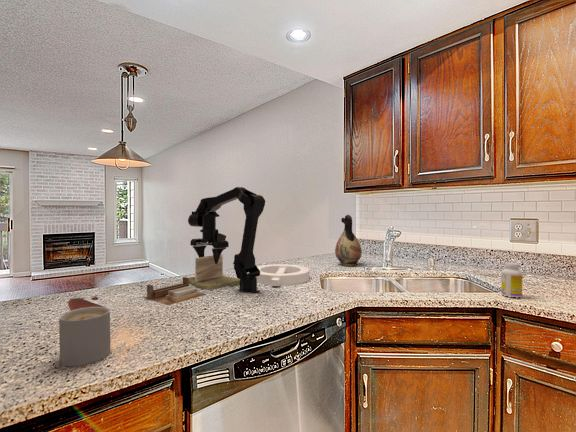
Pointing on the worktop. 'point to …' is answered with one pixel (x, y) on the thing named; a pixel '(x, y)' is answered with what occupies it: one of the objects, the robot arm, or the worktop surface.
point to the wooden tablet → (82, 303)
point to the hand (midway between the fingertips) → (209, 262)
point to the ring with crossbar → (282, 274)
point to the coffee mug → (84, 336)
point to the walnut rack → (166, 292)
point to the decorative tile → (215, 282)
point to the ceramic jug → (348, 245)
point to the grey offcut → (182, 291)
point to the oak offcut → (178, 299)
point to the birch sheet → (208, 268)
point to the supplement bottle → (511, 280)
